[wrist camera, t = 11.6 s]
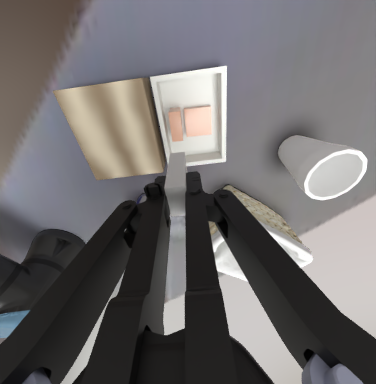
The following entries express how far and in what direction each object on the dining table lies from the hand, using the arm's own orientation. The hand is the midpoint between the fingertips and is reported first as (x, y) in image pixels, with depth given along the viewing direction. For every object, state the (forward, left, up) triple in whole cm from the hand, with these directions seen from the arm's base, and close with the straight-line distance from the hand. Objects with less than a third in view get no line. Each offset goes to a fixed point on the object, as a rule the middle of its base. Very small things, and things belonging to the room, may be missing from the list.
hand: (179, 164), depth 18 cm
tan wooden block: (-12, 0, -20) cm, 23 cm away
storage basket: (+13, -28, -21) cm, 38 cm away
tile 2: (-2, 0, -17) cm, 17 cm away
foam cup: (+24, -9, -21) cm, 33 cm away
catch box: (+2, 0, -20) cm, 20 cm away
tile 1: (+3, 0, -18) cm, 18 cm away
